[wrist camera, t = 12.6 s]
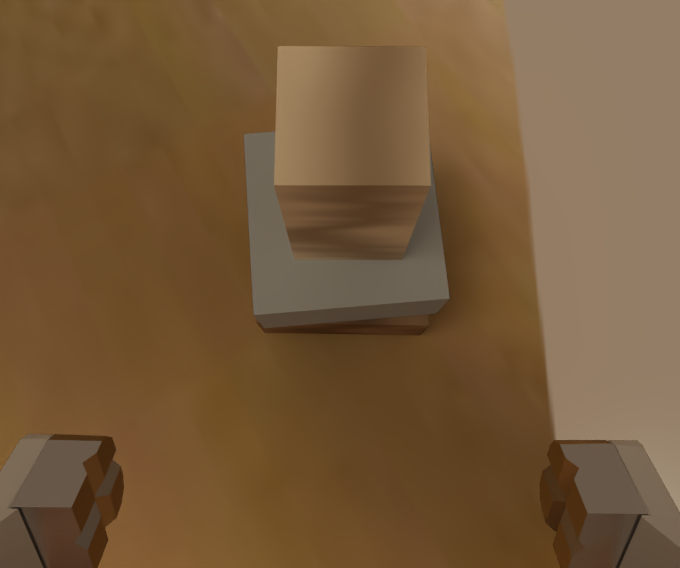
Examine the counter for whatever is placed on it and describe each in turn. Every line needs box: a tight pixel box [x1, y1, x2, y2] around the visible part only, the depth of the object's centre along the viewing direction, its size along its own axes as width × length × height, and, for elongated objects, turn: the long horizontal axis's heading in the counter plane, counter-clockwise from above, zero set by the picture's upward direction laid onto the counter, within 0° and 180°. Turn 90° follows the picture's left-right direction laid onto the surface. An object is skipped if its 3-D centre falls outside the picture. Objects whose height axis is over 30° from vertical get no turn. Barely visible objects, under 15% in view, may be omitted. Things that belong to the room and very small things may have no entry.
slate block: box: [244, 132, 450, 328], centre depth 30 cm, size 9×9×4 cm
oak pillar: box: [274, 46, 431, 260], centre depth 24 cm, size 5×5×9 cm
